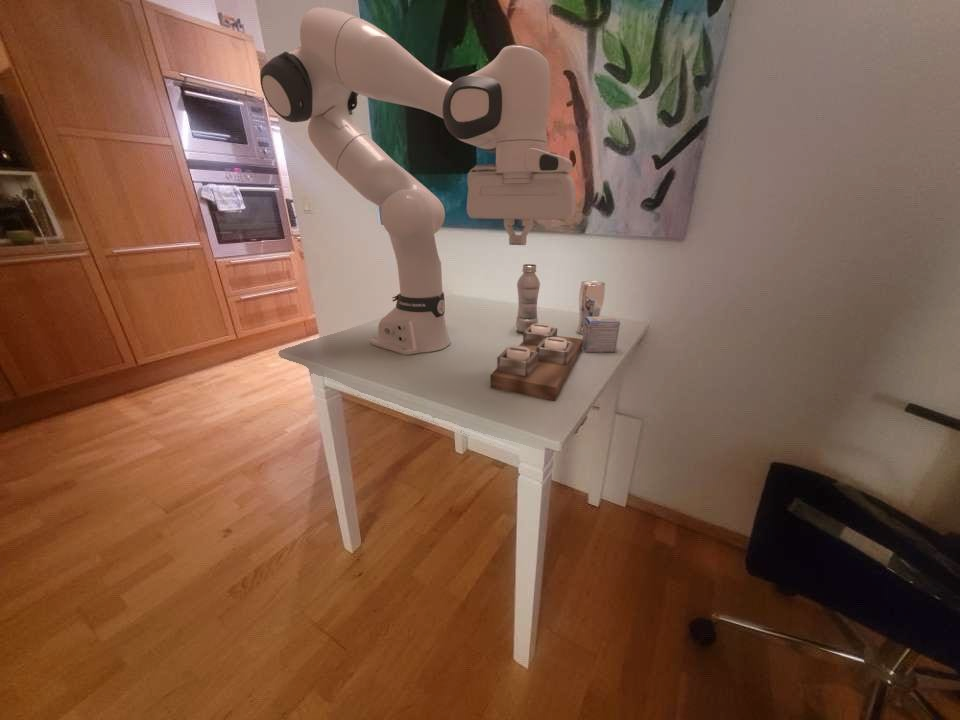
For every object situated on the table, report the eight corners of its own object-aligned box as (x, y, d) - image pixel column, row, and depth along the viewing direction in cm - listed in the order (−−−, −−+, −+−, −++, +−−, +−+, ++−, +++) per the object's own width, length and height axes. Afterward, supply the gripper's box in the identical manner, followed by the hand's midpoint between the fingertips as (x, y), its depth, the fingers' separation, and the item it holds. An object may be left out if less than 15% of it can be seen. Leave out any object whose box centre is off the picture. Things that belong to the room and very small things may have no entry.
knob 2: (527, 342, 94) (528, 327, 92) (533, 336, 98) (534, 321, 97) (547, 345, 92) (548, 329, 90) (551, 339, 96) (553, 323, 95)
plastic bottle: (538, 335, 108) (543, 266, 100) (516, 335, 108) (518, 266, 100) (536, 328, 114) (540, 263, 106) (514, 328, 114) (517, 263, 106)
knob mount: (490, 387, 78) (490, 361, 75) (531, 342, 103) (532, 321, 101) (555, 400, 72) (557, 373, 70) (581, 349, 98) (584, 328, 95)
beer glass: (604, 333, 109) (611, 283, 103) (587, 337, 106) (593, 286, 100) (587, 327, 115) (592, 279, 109) (570, 331, 112) (575, 282, 106)
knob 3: (541, 358, 84) (542, 341, 83) (546, 351, 88) (548, 335, 87) (562, 362, 82) (564, 344, 81) (567, 354, 86) (569, 337, 85)
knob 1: (502, 369, 79) (503, 351, 77) (510, 360, 83) (511, 343, 81) (525, 373, 77) (526, 354, 75) (531, 364, 81) (533, 346, 80)
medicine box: (609, 346, 100) (614, 315, 97) (615, 352, 96) (620, 320, 92) (581, 346, 100) (584, 316, 96) (586, 353, 96) (590, 321, 92)
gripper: (460, 163, 66) (461, 244, 71) (575, 158, 58) (566, 249, 63) (474, 166, 71) (475, 241, 76) (581, 162, 63) (573, 245, 69)
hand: (517, 244), depth 70 cm, fingers closed
